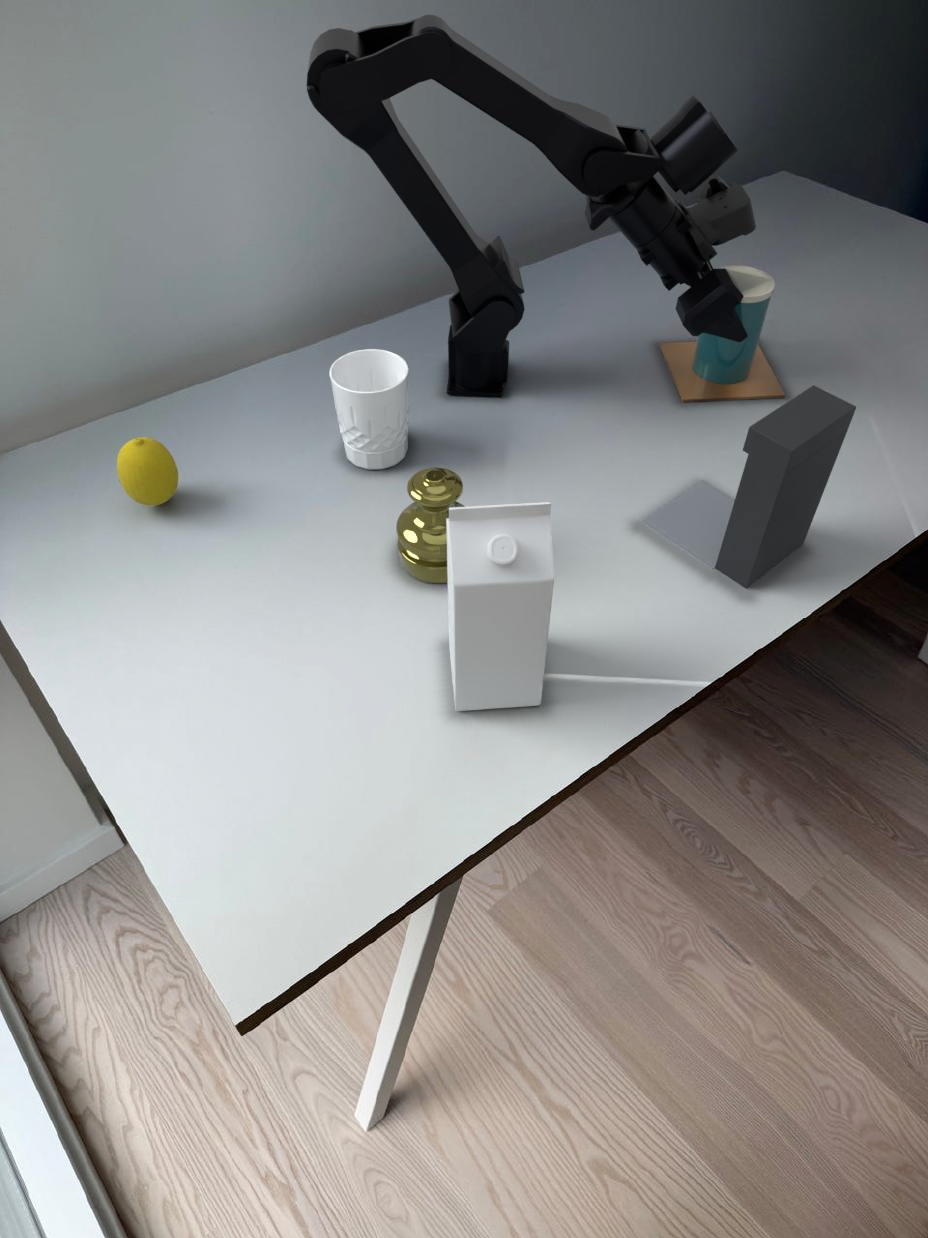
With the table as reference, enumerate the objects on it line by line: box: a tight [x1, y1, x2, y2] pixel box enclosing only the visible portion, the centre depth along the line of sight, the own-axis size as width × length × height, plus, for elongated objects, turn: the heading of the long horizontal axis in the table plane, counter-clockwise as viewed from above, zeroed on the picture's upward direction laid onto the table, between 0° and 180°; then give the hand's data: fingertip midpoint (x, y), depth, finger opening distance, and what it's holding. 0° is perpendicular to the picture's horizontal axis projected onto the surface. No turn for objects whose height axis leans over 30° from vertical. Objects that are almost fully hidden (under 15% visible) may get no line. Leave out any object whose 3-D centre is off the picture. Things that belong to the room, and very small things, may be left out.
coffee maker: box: [641, 385, 857, 589], centre depth 81 cm, size 12×10×16 cm
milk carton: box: [446, 501, 555, 712], centre depth 69 cm, size 7×7×19 cm
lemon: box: [116, 436, 179, 507], centre depth 88 cm, size 6×6×8 cm
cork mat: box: [659, 341, 786, 403], centre depth 106 cm, size 12×12×1 cm
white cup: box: [328, 348, 410, 470], centre depth 93 cm, size 8×8×10 cm
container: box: [692, 265, 776, 384], centre depth 102 cm, size 7×7×11 cm
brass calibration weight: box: [396, 466, 466, 584], centre depth 82 cm, size 7×7×10 cm
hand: (732, 317), depth 101 cm, fingers open, 9 cm apart
